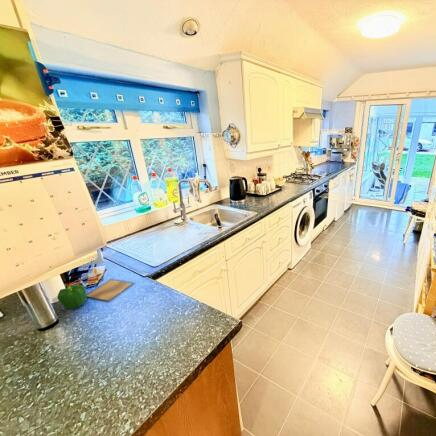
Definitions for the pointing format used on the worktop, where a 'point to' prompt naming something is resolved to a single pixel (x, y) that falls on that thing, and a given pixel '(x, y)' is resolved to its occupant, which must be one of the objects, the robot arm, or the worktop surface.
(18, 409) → the worktop surface
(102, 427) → the worktop surface
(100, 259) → the white product box
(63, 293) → the bell pepper
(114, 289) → the coaster
